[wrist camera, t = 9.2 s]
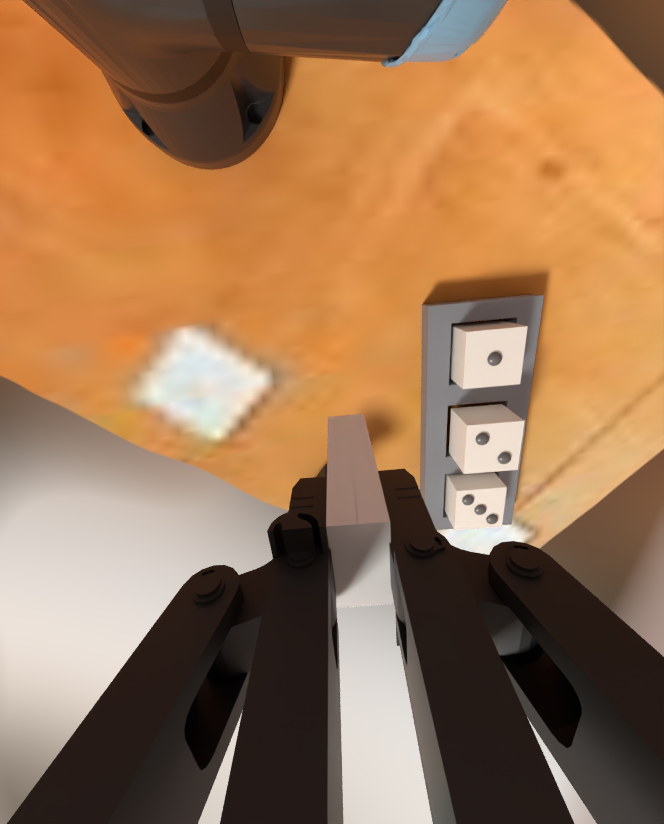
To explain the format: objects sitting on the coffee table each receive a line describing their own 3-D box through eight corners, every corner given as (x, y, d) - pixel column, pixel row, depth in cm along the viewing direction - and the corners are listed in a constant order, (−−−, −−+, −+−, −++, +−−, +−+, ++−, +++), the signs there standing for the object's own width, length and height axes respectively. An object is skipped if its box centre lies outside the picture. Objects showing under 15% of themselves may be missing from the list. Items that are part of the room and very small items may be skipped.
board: (422, 304, 37) (428, 306, 35) (530, 294, 37) (543, 295, 35) (419, 518, 48) (424, 530, 46) (502, 512, 48) (511, 524, 46)
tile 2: (451, 408, 40) (467, 426, 35) (501, 404, 39) (525, 421, 35) (448, 452, 42) (464, 475, 37) (496, 448, 42) (518, 470, 37)
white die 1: (449, 325, 38) (467, 332, 33) (503, 320, 37) (528, 326, 33) (447, 376, 40) (463, 389, 35) (497, 371, 40) (521, 384, 35)
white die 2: (443, 468, 45) (457, 492, 40) (488, 465, 44) (507, 488, 40) (442, 505, 47) (454, 531, 42) (484, 501, 47) (502, 527, 42)
